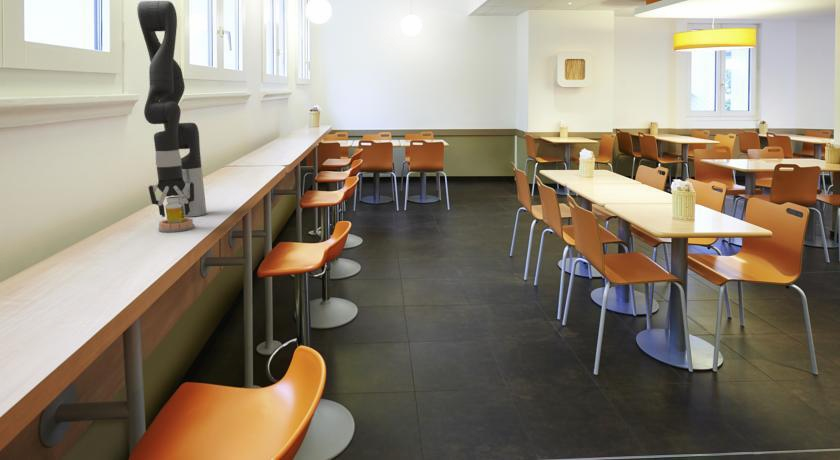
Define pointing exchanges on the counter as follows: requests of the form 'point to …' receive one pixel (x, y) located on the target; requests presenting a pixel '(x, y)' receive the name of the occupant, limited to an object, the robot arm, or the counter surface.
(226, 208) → the counter surface
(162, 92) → the robot arm
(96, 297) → the counter surface
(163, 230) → the ring tray
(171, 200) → the supplement bottle
